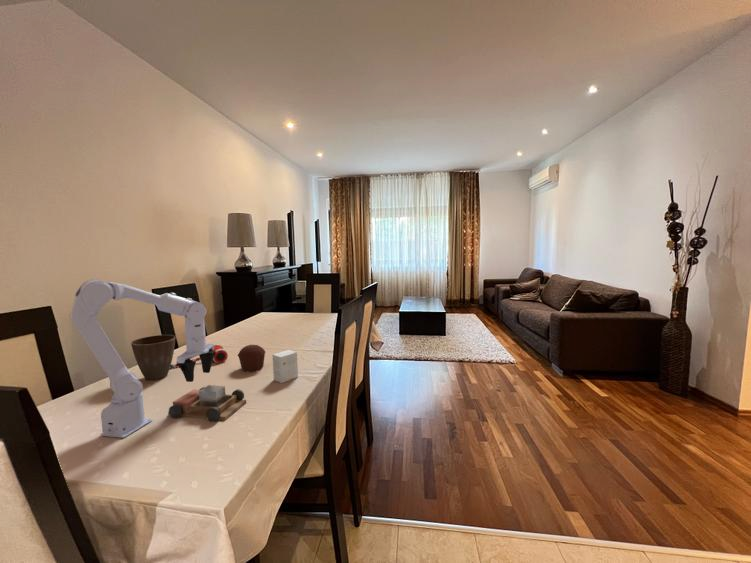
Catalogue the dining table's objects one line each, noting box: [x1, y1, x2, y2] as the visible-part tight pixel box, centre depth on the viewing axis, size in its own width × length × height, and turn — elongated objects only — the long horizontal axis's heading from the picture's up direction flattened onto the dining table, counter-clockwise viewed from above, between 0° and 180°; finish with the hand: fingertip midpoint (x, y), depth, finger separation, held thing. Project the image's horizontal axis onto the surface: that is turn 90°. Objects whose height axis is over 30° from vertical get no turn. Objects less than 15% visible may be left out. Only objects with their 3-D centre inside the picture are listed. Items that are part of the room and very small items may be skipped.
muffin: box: [237, 344, 266, 373], centre depth 140 cm, size 12×11×10 cm
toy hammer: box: [169, 343, 229, 370], centre depth 147 cm, size 23×12×6 cm, turn 126°
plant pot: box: [130, 334, 176, 382], centre depth 131 cm, size 15×15×16 cm
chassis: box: [167, 386, 247, 422], centre depth 104 cm, size 14×20×4 cm
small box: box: [272, 349, 299, 384], centre depth 127 cm, size 8×6×10 cm
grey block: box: [199, 384, 226, 407], centre depth 103 cm, size 4×6×6 cm
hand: (198, 376), depth 107 cm, fingers open, 7 cm apart
